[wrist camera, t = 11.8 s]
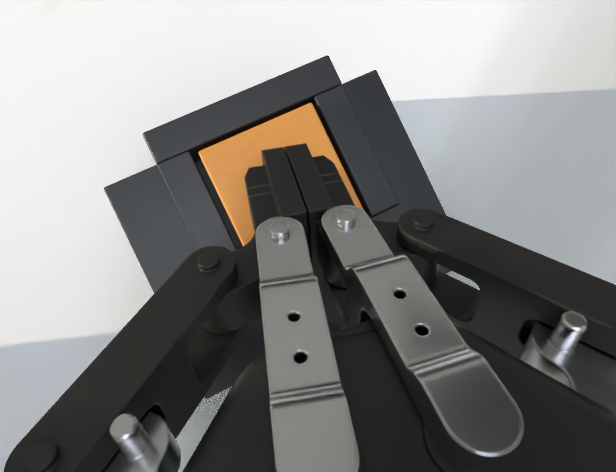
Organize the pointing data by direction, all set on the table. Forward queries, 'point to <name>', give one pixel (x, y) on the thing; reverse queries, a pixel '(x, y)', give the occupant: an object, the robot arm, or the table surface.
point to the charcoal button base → (243, 116)
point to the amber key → (247, 153)
